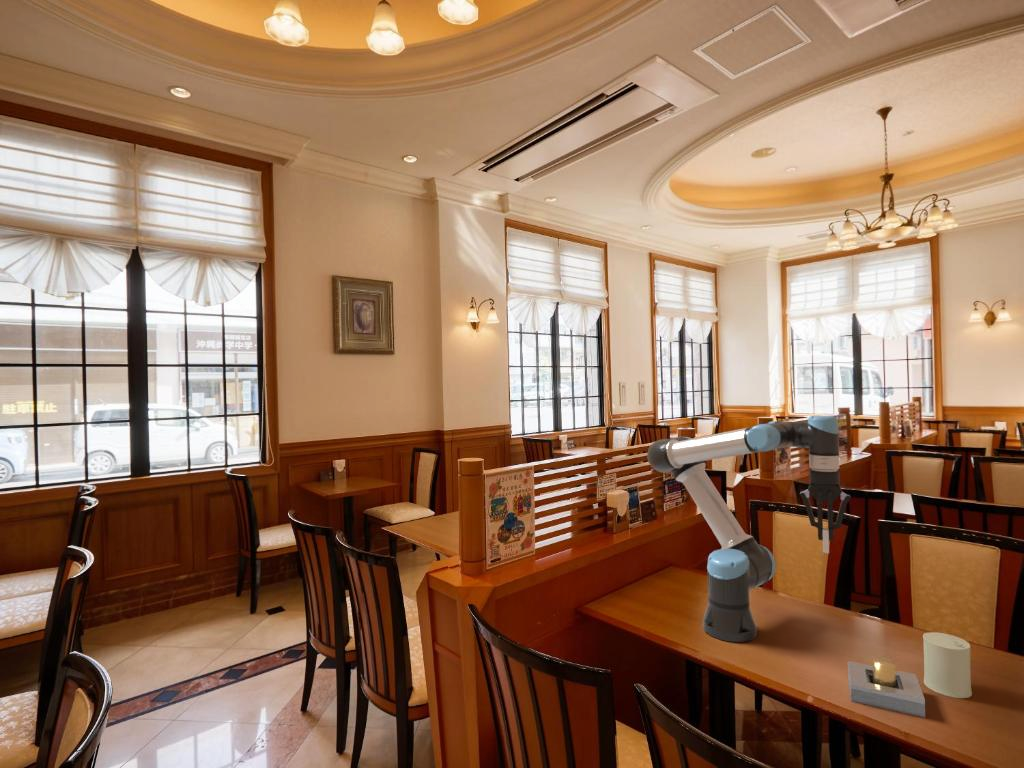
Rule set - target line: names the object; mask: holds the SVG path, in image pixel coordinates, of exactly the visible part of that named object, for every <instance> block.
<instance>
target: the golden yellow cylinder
mask: <svg viewBox="0 0 1024 768" xmlns="http://www.w3.org/2000/svg"><path fill="white" fill-rule="evenodd" d="M872 666H873V684H877V685H882V686H887V687H892V688H896V676H895V670H896V663H895V662H894V661H892V660H890V659H887V658H883V657H875V658H873V659H872Z"/></svg>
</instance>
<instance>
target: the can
mask: <svg viewBox="0 0 1024 768" xmlns="http://www.w3.org/2000/svg"><path fill="white" fill-rule="evenodd" d="M922 638H923V672H924V673H923V684H924V685H925V687H926V688H928V689H930V690H931V691H933V692H935V693H937V694H939V695H942V696H945V697H949V698H954V699H968V698H971V697H972V694H973V691H972V683H971V682H972V680H971V675H972V674H971V644H970V643H969V642H968V641H967V640H965V639H963V638H961V637H958V636H956V635H952V634H949V633H943V632H937V631H935V632H934V631H933V632H932V631H931V632H924V633H923V635H922Z"/></svg>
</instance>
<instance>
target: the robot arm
mask: <svg viewBox="0 0 1024 768" xmlns="http://www.w3.org/2000/svg"><path fill="white" fill-rule="evenodd" d="M838 422H839V420H838V418H837V417H836V416H835V415H834V416H833V415H810V416H809V417H808V419H807V421H806V422H805V421H802V422H800V421H799V422H798V421H785V420H784V421H783V420H776V421H773V420H772V421H769V422H767V423H760V424H756V425H755V426H749V427H744V428H739V429H735V430H729V431H724V432H719V433H715V434H707V435H703V436H698V437H694V438H691V437H688V436H676V437H671V438H662V439H658V440H656V441H654V442H652V443H651V444H650V445H649V448H648V449H647V453H646V457H647V461H648V464H649V466H651V468H653V470H655V471H656V472H659V473H665V474H666V473H667V474H668V473H671V474H672V476H673V477H674V479H675V480H676V482H679V483H682V485H683V486H684V487H685V489H686V491H687V492H688V493H689V495H690V497H691V498H692V500H693V502H694V503H695V505H696V506H697V508H698V509H699V511H700V513H701V514H702V516H703V518H704V520H705V521H706V522H707V524H708V526H709V527H710V529H711V530H712V533H713V534H714V536H715V538H716V540H717V541H718V543H719V544H720V546H721V548H720V549H715V550H713V551H712V552H711V553H709V555H708V557H707V566H706V569H707V591H708V592H707V594H708V597H707V598H708V601H707V605H706V609H705V612H704V615H703V619H702V629H703V631H704V632H705V633H706V632H707V633H708V636H710V637H713V638H715V639H718V640H722V641H726V642H732V643H744V642H749V641H753V640H754V639H755V638H757V625H756V622H755V620H754V616H753V613H752V611H751V608H750V590H754V589H755V588H757V587H759V586H763V585H764V584H766V583H767V582H768V581H770V580H771V579H772V578H773V577H774V575H775V572H776V560H775V556H774V555H773V553H772V552H771V551H770V550H769V548H768V547H765V546H763V545H761V544H758V541H756V539H755V537H754V536H753V535H750V534H747V533H745V531H744V529H743V528H742V526H741V525H740V523H739V521H738V519H736V517H735V515H734V514H733V513H732V511H731V509H730V508H729V506H728V505H727V503H726V502H725V500H724V498H723V496H722V495H721V494H720V492H719V491H718V489H717V488H716V486H715V485H714V483H713V481H712V480H711V478H710V477H709V476H708V474H707V472H706V471H705V469H706V465H707V464H706V462H705V461H711V460H716V459H717V460H718V459H723V458H729V457H736V456H741V455H748V454H753V453H754V454H755V453H761V452H770V451H774V450H777V449H778V450H779V449H783V448H788V447H789V448H802V449H803V448H805V449H806V448H808V460H809V461H808V463H809V465H808V466H809V468H810V469H809V485H808V486H807V489H805V490H804V491H803V490H802V491H800V493H799V496H800V498H801V499H802V500H803V502H804V505H805V508H806V511H807V516H808V520H809V523H810V525H811V526H812V527H814V528H816V529H817V538H818V541H822V553H824V554H830V542H833V541H834V530H837V529H841V527H842V524H843V519H844V515H845V512H846V508H847V505H848V503H849V502H850V501H851V495H850V494H847V493H845V492H844V491H843V490H842V488H841V485H840V483H841V482H840V481H841V480H840V471H839V469H840V449H839V448H840V446H839V445H840V441H839V440H840V431H839V423H838ZM810 495H811V496H812V497H813V498H814V500H815V501H816V502H817V521H816V520H815V516H814V514H813V513H814V512H813V510H812V506H811V502H810V499H809V498H810ZM839 497H840V500H841V501H840V505H839V508H838V509H839V510H838V513H837V516H836V520H835V523H834V508H833V507H834V502H835V501H836V500H837V499H838V498H839ZM823 503H827V527H823V525H824V524H823V523H824V522H823V521H824V520H823V517H824V516H823ZM707 633H706V634H707Z"/></svg>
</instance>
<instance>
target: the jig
mask: <svg viewBox="0 0 1024 768" xmlns="http://www.w3.org/2000/svg"><path fill="white" fill-rule="evenodd" d="M895 676H896V688H892V687H887V686H882V685H877V684H873V665H870V664H864V663H860V662H854V661H850V660H849V661H847V678H848V686H849V693H850V695H849V696H850V701H851V702H855V703H858V704H863V705H867V706H872V707H877V708H880V709H881V708H882V709H885V710H890V711H893V712H894V711H895V712H899V713H902V714H907V715H912V716H916V717H920V718H925V719H926V700H925V699H926V698H925V696H924V693H923V691H922V688H921V685H920V683H919V680H918V677H917V674H915V673H911V672H906V671H900V670H896V669H895Z"/></svg>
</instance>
